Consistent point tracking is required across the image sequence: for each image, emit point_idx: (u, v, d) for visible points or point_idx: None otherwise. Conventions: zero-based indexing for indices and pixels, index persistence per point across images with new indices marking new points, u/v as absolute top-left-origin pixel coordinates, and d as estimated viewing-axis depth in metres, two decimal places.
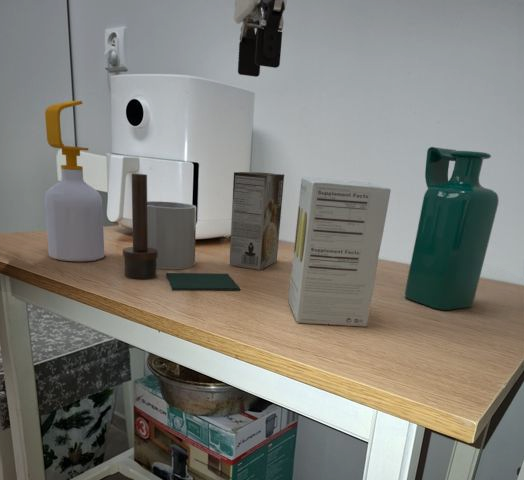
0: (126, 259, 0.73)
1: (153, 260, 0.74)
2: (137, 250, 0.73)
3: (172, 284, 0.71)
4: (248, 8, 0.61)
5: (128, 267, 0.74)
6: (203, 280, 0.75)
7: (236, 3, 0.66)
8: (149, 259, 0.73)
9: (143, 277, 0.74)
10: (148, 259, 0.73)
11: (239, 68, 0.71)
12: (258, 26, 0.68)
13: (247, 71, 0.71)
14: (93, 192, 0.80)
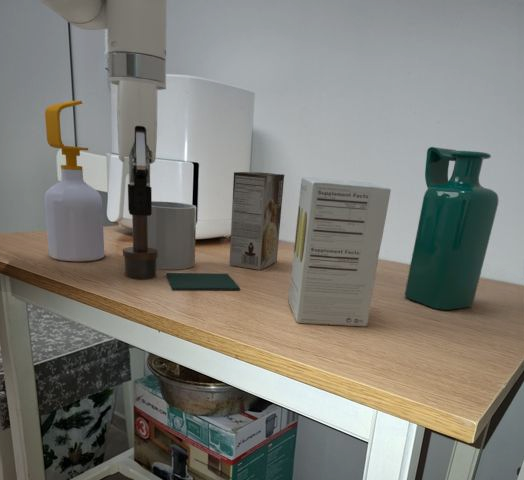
0: (126, 259, 0.73)
1: (153, 260, 0.74)
2: (137, 250, 0.73)
3: (172, 284, 0.71)
4: (120, 159, 0.66)
5: (128, 267, 0.74)
6: (203, 280, 0.75)
7: None
8: (149, 259, 0.73)
9: (143, 277, 0.74)
10: (148, 259, 0.73)
11: None
12: None
13: None
14: (93, 192, 0.80)
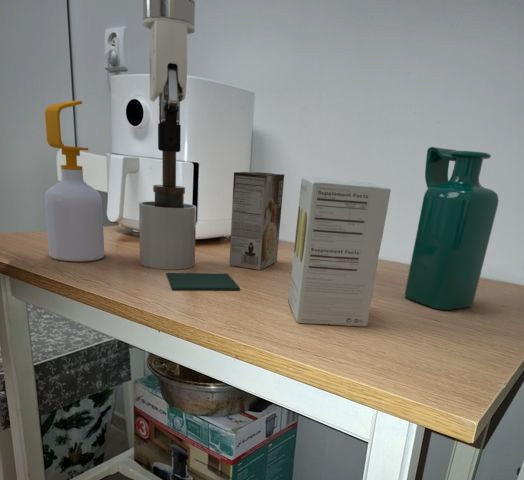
0: (156, 194, 0.80)
1: (181, 195, 0.80)
2: (166, 185, 0.80)
3: (172, 284, 0.71)
4: (154, 95, 0.72)
5: (158, 202, 0.80)
6: (203, 280, 0.75)
7: None
8: (178, 194, 0.79)
9: None
10: (177, 193, 0.79)
11: (159, 145, 0.79)
12: None
13: None
14: (93, 192, 0.80)
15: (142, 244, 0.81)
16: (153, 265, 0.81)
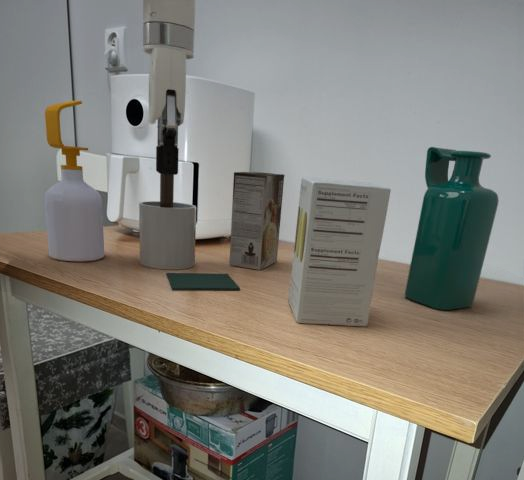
0: None
1: None
2: None
3: (172, 284, 0.71)
4: (152, 120, 0.73)
5: None
6: (203, 280, 0.75)
7: None
8: None
9: None
10: None
11: (157, 167, 0.80)
12: None
13: None
14: (93, 192, 0.80)
15: (142, 244, 0.81)
16: (153, 265, 0.81)
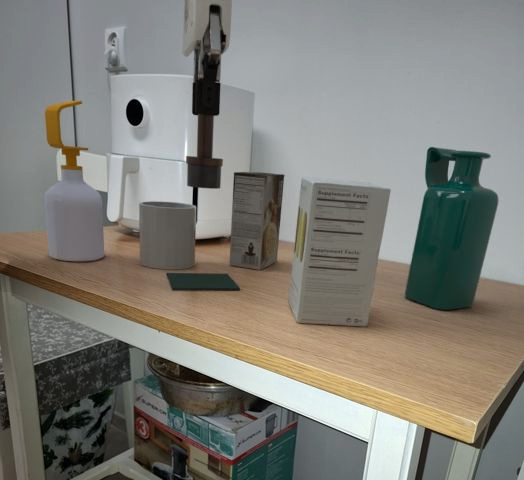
0: (190, 166, 0.68)
1: (219, 168, 0.69)
2: (202, 156, 0.68)
3: (172, 284, 0.71)
4: (191, 45, 0.60)
5: (192, 175, 0.68)
6: (203, 280, 0.75)
7: (183, 37, 0.65)
8: (215, 165, 0.68)
9: (208, 186, 0.68)
10: (214, 165, 0.68)
11: (193, 109, 0.68)
12: None
13: None
14: (93, 192, 0.80)
15: (142, 244, 0.81)
16: (153, 265, 0.81)
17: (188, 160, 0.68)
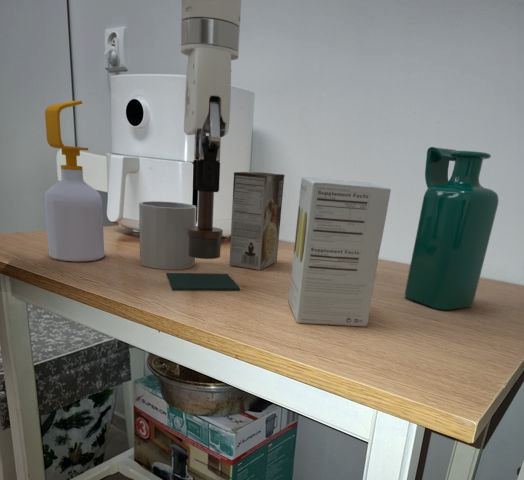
0: (191, 238, 0.71)
1: (219, 239, 0.72)
2: (203, 229, 0.71)
3: (172, 284, 0.71)
4: (192, 131, 0.63)
5: (193, 247, 0.71)
6: (203, 280, 0.75)
7: None
8: (215, 238, 0.71)
9: (209, 257, 0.71)
10: (214, 238, 0.71)
11: (194, 184, 0.71)
12: None
13: None
14: (93, 192, 0.80)
15: (142, 244, 0.81)
16: (153, 265, 0.81)
17: (189, 233, 0.71)
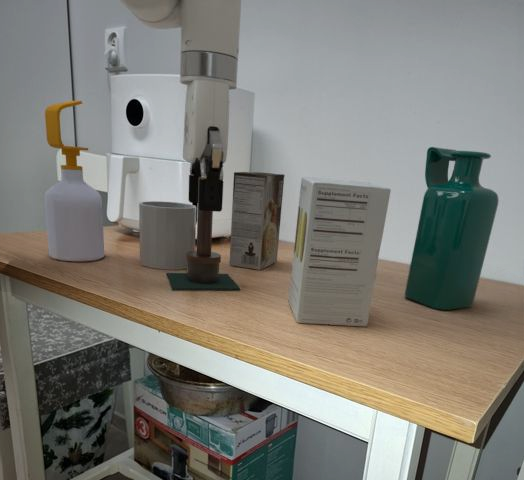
0: (190, 263, 0.72)
1: (217, 264, 0.73)
2: (201, 254, 0.72)
3: (172, 284, 0.71)
4: (191, 160, 0.64)
5: (192, 272, 0.72)
6: None
7: (183, 144, 0.70)
8: (214, 263, 0.72)
9: (207, 282, 0.73)
10: (213, 263, 0.72)
11: (190, 197, 0.74)
12: None
13: (197, 200, 0.74)
14: (93, 192, 0.80)
15: (142, 244, 0.81)
16: (153, 265, 0.81)
17: (188, 258, 0.72)
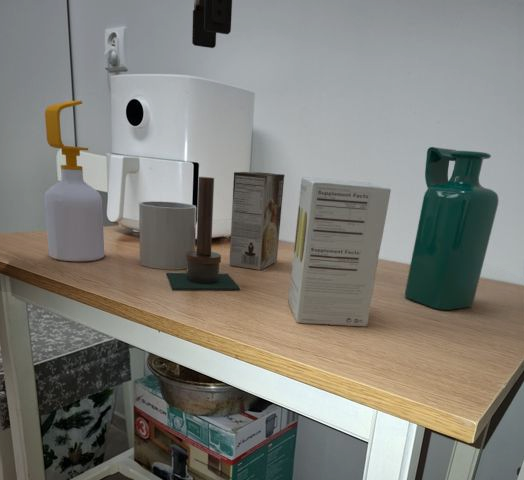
0: (190, 263, 0.72)
1: (217, 264, 0.73)
2: (201, 254, 0.72)
3: (172, 284, 0.71)
4: None
5: (192, 272, 0.72)
6: None
7: None
8: (214, 263, 0.72)
9: (207, 282, 0.73)
10: (213, 263, 0.72)
11: (194, 38, 0.67)
12: None
13: (202, 42, 0.67)
14: (93, 192, 0.80)
15: (142, 244, 0.81)
16: (153, 265, 0.81)
17: (188, 258, 0.72)
